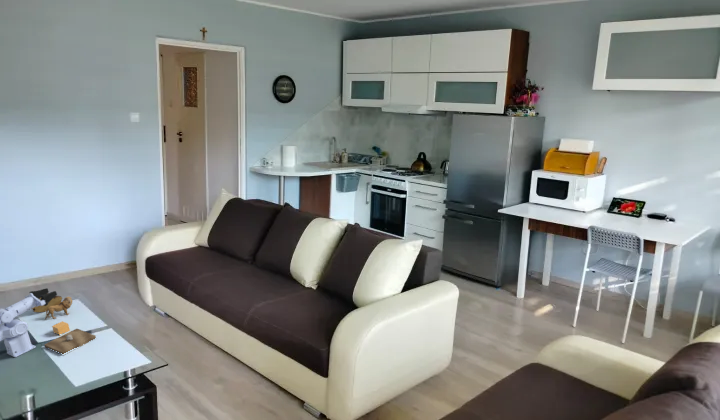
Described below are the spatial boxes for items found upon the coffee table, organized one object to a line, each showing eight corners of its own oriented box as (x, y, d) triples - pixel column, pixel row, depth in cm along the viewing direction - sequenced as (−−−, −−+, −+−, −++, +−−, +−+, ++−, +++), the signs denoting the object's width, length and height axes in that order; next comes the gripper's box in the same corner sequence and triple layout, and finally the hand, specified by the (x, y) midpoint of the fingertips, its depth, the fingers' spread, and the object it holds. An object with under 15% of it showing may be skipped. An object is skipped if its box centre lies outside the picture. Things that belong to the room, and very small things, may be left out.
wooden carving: (61, 302, 290) (57, 286, 287) (64, 304, 287) (60, 288, 284) (29, 315, 278) (24, 298, 275) (32, 317, 275) (27, 300, 272)
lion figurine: (74, 309, 281) (70, 294, 278) (76, 312, 277) (72, 297, 274) (43, 319, 272) (39, 304, 269) (45, 322, 268) (41, 307, 265)
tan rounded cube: (59, 335, 254) (57, 328, 253) (54, 333, 256) (52, 326, 255) (70, 330, 258) (68, 323, 257) (64, 328, 261) (62, 321, 259)
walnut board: (63, 355, 236) (61, 347, 234) (45, 347, 244) (42, 339, 243) (96, 338, 248) (94, 330, 247) (77, 331, 257) (75, 323, 255)
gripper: (28, 301, 236) (57, 287, 247) (13, 295, 244) (41, 281, 254) (34, 314, 239) (62, 299, 249) (18, 308, 246) (46, 294, 257)
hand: (52, 291), depth 252 cm, fingers open, 7 cm apart
